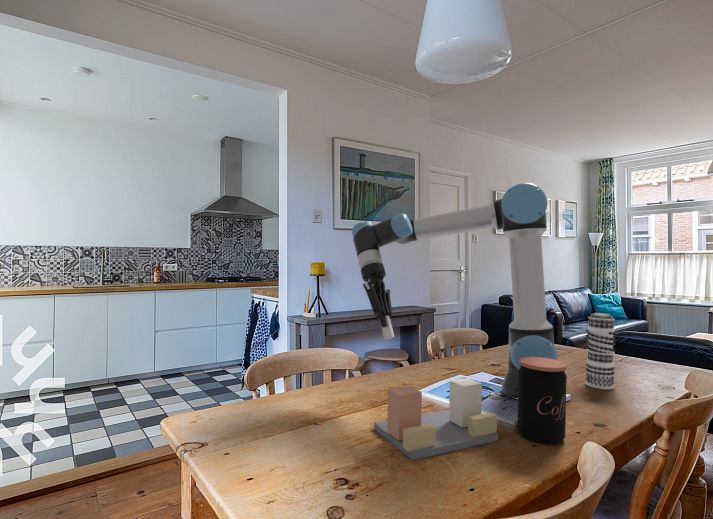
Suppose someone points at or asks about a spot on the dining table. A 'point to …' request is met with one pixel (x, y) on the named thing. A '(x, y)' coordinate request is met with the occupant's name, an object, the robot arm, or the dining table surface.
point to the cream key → (464, 400)
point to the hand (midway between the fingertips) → (389, 338)
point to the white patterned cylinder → (600, 351)
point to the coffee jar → (542, 399)
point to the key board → (442, 434)
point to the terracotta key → (403, 410)
